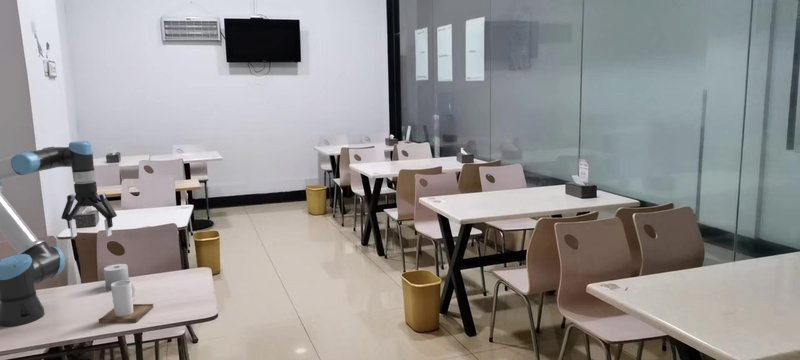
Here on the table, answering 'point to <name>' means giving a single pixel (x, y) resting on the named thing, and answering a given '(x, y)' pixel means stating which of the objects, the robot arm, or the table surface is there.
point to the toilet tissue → (115, 274)
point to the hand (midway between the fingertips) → (91, 236)
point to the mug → (123, 297)
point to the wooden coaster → (137, 314)
